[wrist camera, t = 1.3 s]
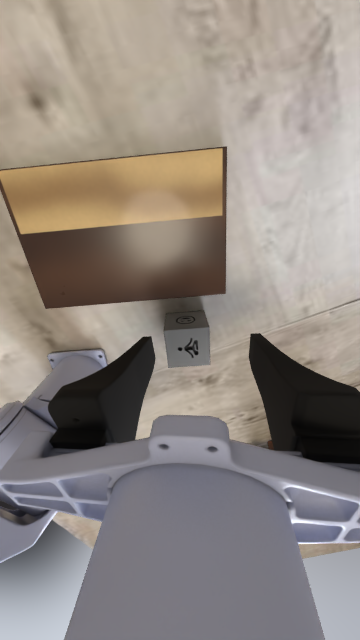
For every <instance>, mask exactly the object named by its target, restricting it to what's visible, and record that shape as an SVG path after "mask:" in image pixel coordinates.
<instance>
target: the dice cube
mask: <svg viewBox="0 0 360 640" xmlns="http://www.w3.org/2000/svg"><path fill="white" fill-rule="evenodd" d="M164 337H165V344H166V352H167V360H168V368H173V367H187V366H202V365H210V332H209V324H208V321H207V318H206V315H205V312H204V311H192V312H179V313H167V314H166V319H165V326H164Z"/></svg>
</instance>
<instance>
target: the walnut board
mask: <svg viewBox="0 0 360 640" xmlns="http://www.w3.org/2000/svg"><path fill="white" fill-rule="evenodd" d="M226 182H227V147H217V148H207V149H197V150H188V151H178V152H168V153H158V154H148V155H139V156H129V157H119V158H109V159H99V160H90V161H80V162H70V163H60V164H51V165H41V166H31V167H21V168H11V169H2V170H0V190H1V192H2V195H3V198H4V200H5V203H6V206H7V208H8V211H9V214H10V216H11V219H12V221H13V224H14V227H15V229H16V232H17V235H18V237H19V240H20V242H21V245H22V248H23V250H24V253H25V256H26V258H27V261H28V264H29V266H30V269H31V271H32V274H33V277H34V279H35V282H36V285H37V287H38V290H39V292H40V295H41V298H42V300H43V303H44V306H45V308H46V309H48V308H60V307H72V306H84V305H96V304H108V303H121V302H133V301H145V300H157V299H169V298H181V297H193V296H205V295H217V294H225V293H226Z"/></svg>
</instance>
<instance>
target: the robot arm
mask: <svg viewBox="0 0 360 640" xmlns="http://www.w3.org/2000/svg"><path fill="white" fill-rule="evenodd" d="M100 355H101V356H102V357H101V356H100ZM47 357H48V360H49V362H50V364H51V367H52V369H53V370H52V371H51V372H50V374H49V375H48V376H47V377H46V378H45V379H44V380H43V381H42V382H41V384H40V385H39V386H38V387H37V388H36V389H35V390H34V391H33V392H32V394H31V395H30V396H29V397H28V398H27V399H26V400H25V401H24V402H23V403H21V402H20V401H16V402H12V403H7V404H5V405H4V406H3V407H1V408H0V500H1V501H3V502H5V503H7V504H9V505H11V506H13V507H15V508H18V510H9V509H5V508H3V507H1V506H0V563H1V562H3V561H5V560H7V559H9V558H11V557H13V556H15V555H17V554H19V553H21V552H23V551H25V550H27V549H28V548H30V547H32V546H33V545H34V544H35V543H36V541H37V539H38V538H39V537H40V535H41V534H42V533H43V531H44V530H45V528H46V527H47V525H48V524H49V522H50V521H51V520H52V518H53V517H54V516H55V514H56V513H57V512H62V513H67V514H71V515H75V516H79V517H84V518H88V519H92V520H96V521H101V522H102V524H101V527H100V530H99V533H98V536H97V540H96V543H95V546H94V549H93V552H92V555H91V558H90V561H89V564H88V568H87V570H86V573H85V577H84V580H83V583H82V586H81V589H80V592H79V595H78V598H77V601H76V604H75V608H74V611H73V614H72V617H71V620H70V623H69V626H68V629H67V632H66V635H65V638H64V640H325V638H324V634H323V630H322V627H321V623H320V620H319V616H318V613H317V609H316V606H315V602H314V599H313V596H312V592H311V588H310V585H309V582H308V578H307V574H306V571H305V567H304V564H303V560H302V557H301V553H300V550H299V546H298V544H315V543H360V392H359V391H358V390H357V389H356V388H354V387H351V386H348V385H346V384H343V383H340V382H337V381H334V380H332V379H329V378H327V377H325V376H322V375H320V374H318V373H316V372H314V371H312V370H310V369H308V368H306V367H304V366H302V365H301V364H299V363H297V362H296V361H294V360H293V359H291V358H289V357H288V356H287V355H285V354H284V353H283V352H281V351H280V350H279V349H277V348H276V347H275V346H274V345H272V344H271V343H270V342H269V341H268V340H267V339H266V338H264V337H263V336H262V335H261V334H260V333H259V334H251V337H250V349H249V360H250V365H251V369H252V372H253V375H254V378H255V380H256V383H257V386H258V389H259V391H260V394H261V397H262V400H263V404H264V408H265V412H266V416H267V420H268V425H269V429H270V434H271V438H272V443H273V448H274V450H270V449H266V448H262V447H258V446H255V445H251V444H247V443H243V442H239V441H235V440H231V439H229V430H228V427H227V425H226V423H225V422H223V421H222V420H220V419H219V418H217V417H212V416H191V415H164V416H159V417H158V418H157V419H155V420H154V421H153V425H152V429H151V433H150V437H149V438H144V439H139V440H135V437H136V431H137V426H138V421H139V416H140V411H141V407H142V402H143V399H144V395H145V392H146V389H147V387H148V384H149V381H150V378H151V375H152V372H153V369H154V364H155V353H154V348H153V343H152V338H151V337H142V338H141V339H140V340H139V341H138V342H137V343H136V344H134V345H133V346H132V347H131V348H130V349H129V350H128V351H126V352H125V353H124V354H123V355H121V356H120V357H119V358H118V359H116V360H115V361H113V362H112V363H110V364H109V365H107V362H106V358H105V355H104V351H103V350H101V349H96V350H83V351H70V352H57V353H50V354H48V356H47ZM52 359H53V360H52Z"/></svg>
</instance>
